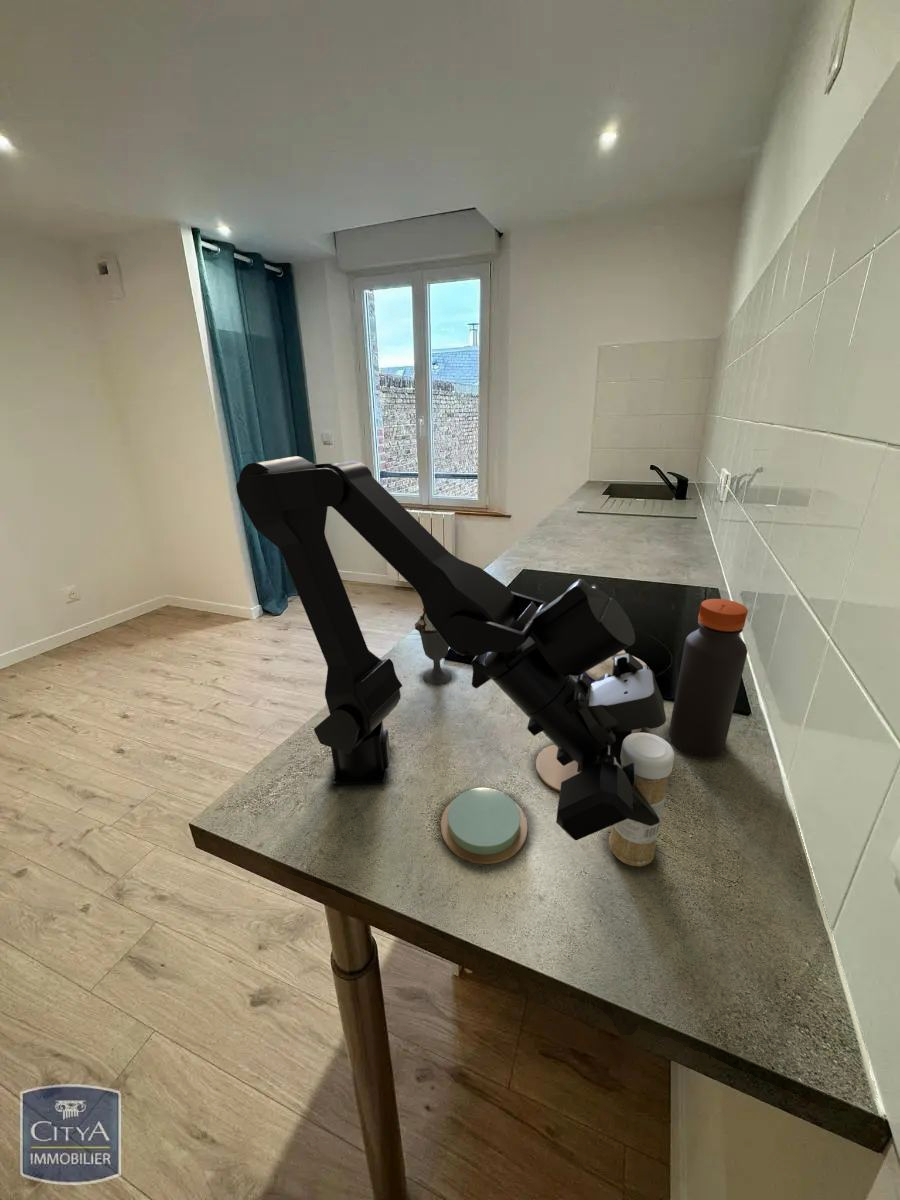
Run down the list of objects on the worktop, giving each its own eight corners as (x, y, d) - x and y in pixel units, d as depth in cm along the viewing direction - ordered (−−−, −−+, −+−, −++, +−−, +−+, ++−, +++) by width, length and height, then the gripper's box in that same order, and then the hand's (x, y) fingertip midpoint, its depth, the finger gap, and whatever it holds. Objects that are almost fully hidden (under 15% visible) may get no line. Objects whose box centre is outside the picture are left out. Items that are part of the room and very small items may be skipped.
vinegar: (729, 762, 60) (765, 620, 52) (671, 753, 62) (698, 615, 54) (717, 729, 66) (747, 597, 58) (665, 722, 68) (687, 593, 60)
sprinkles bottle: (637, 827, 52) (655, 726, 46) (663, 863, 47) (686, 758, 42) (599, 835, 51) (613, 734, 45) (622, 873, 47) (641, 767, 41)
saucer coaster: (441, 866, 48) (441, 864, 48) (440, 793, 57) (440, 792, 57) (535, 861, 48) (535, 859, 48) (519, 790, 57) (519, 788, 57)
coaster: (544, 797, 56) (544, 795, 56) (529, 746, 64) (529, 744, 64) (619, 793, 56) (619, 791, 56) (595, 743, 64) (595, 741, 64)
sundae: (413, 670, 83) (408, 591, 77) (450, 664, 85) (447, 586, 79) (423, 690, 77) (417, 607, 71) (461, 683, 79) (459, 600, 73)
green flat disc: (448, 856, 49) (448, 848, 48) (446, 796, 56) (446, 789, 55) (526, 852, 49) (526, 844, 48) (514, 793, 56) (514, 785, 56)
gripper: (614, 709, 33) (758, 861, 34) (615, 605, 49) (713, 710, 50) (502, 773, 38) (629, 903, 39) (536, 660, 55) (626, 754, 56)
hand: (653, 804), depth 46 cm, fingers closed on sprinkles bottle, 4 cm apart
